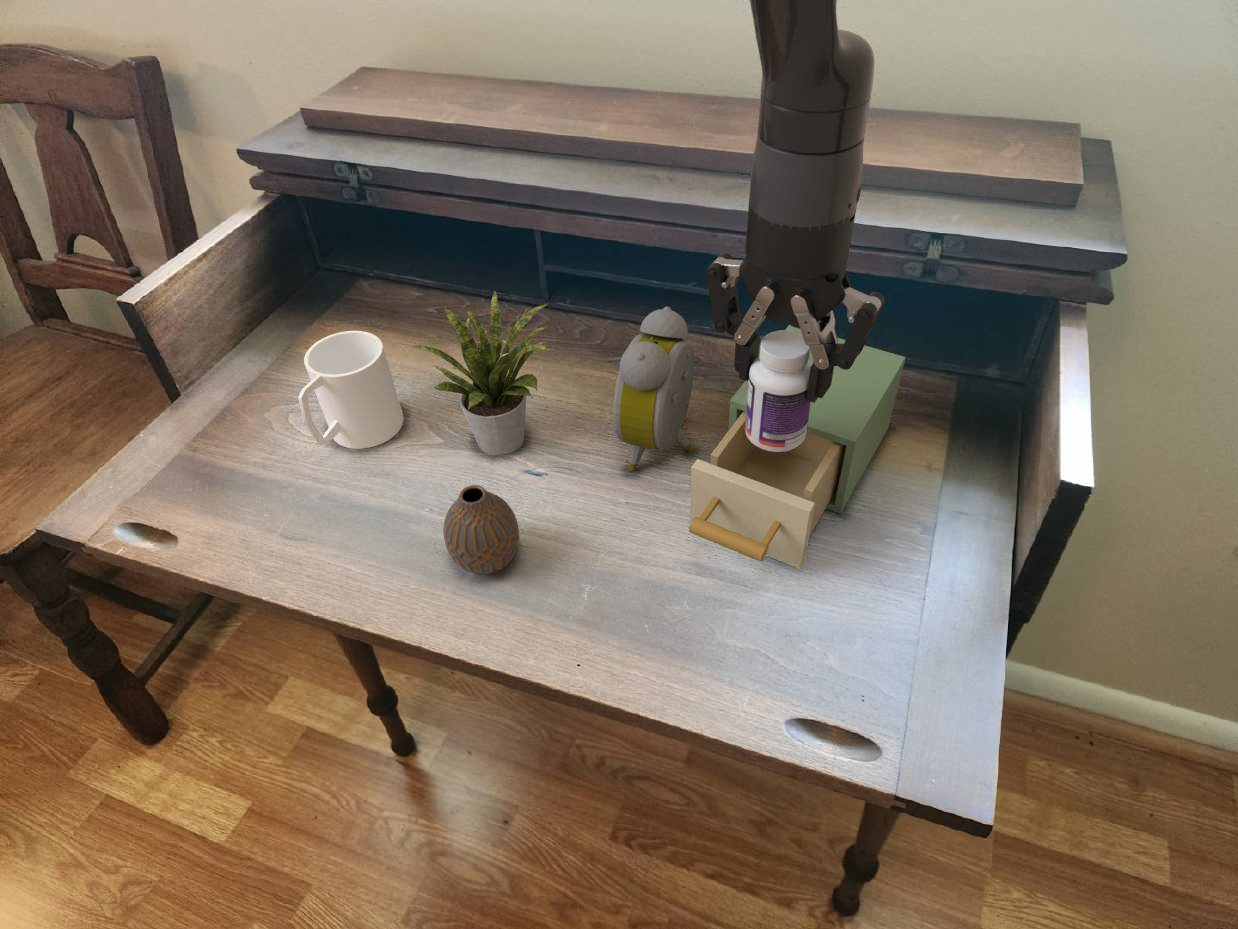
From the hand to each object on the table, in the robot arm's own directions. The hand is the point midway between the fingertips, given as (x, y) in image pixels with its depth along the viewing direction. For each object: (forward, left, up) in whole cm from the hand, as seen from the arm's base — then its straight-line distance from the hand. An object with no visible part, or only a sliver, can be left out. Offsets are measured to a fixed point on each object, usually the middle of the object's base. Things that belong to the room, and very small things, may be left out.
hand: (780, 384), depth 70 cm
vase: (+21, +17, -17) cm, 32 cm away
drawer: (0, 0, -16) cm, 16 cm away
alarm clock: (+14, -5, -17) cm, 23 cm away
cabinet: (0, -12, -17) cm, 20 cm away
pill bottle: (0, 0, -6) cm, 6 cm away
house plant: (+29, +2, -17) cm, 34 cm away
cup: (+45, +10, -17) cm, 49 cm away
